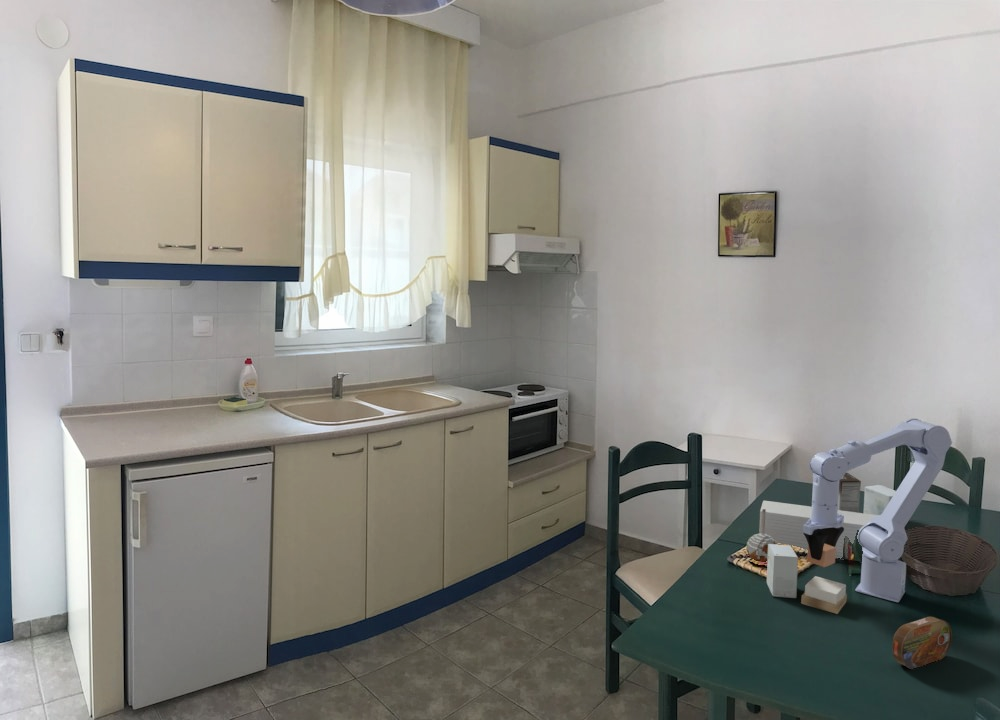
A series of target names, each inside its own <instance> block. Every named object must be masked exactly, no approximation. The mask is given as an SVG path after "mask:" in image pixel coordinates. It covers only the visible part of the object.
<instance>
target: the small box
mask: <svg viewBox="0 0 1000 720" xmlns="http://www.w3.org/2000/svg"><path fill="white" fill-rule="evenodd" d="M798 566H799V557H798V555H797V552H794V550H793V548H792V547H791V545H778V544H768V560H767V566H766V567H767V568H766V571H767V572H766V584H767V587H768V589H769V592H770V593H771V595H772V597H775V598H790V599H797V594H798V593H797V592H798V591H797V589H798V568H799V567H798Z"/></svg>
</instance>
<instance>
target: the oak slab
mask: <svg viewBox="0 0 1000 720" xmlns="http://www.w3.org/2000/svg"><path fill="white" fill-rule="evenodd" d="M847 596H848V594H847V593H845V596H844V597H843V598H842V599H841V600H840V601H839V602H838V603H837V604H836V605H835V604H832V603H829V602H826V601H822V600H819V599H816V598H812V597H809V596H806V595H805V591H804V592H803V594H802V595H801V600H800V601H801V602H800V604H802V605H805V606H808V607H812V608H816V609H819V610H822V611H825V612H829V613H833V614H835V615H838V614H839V613H840V612H841V610H842V609H843V607H844V606H845V604H846V603H847V599H848V597H847Z"/></svg>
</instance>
